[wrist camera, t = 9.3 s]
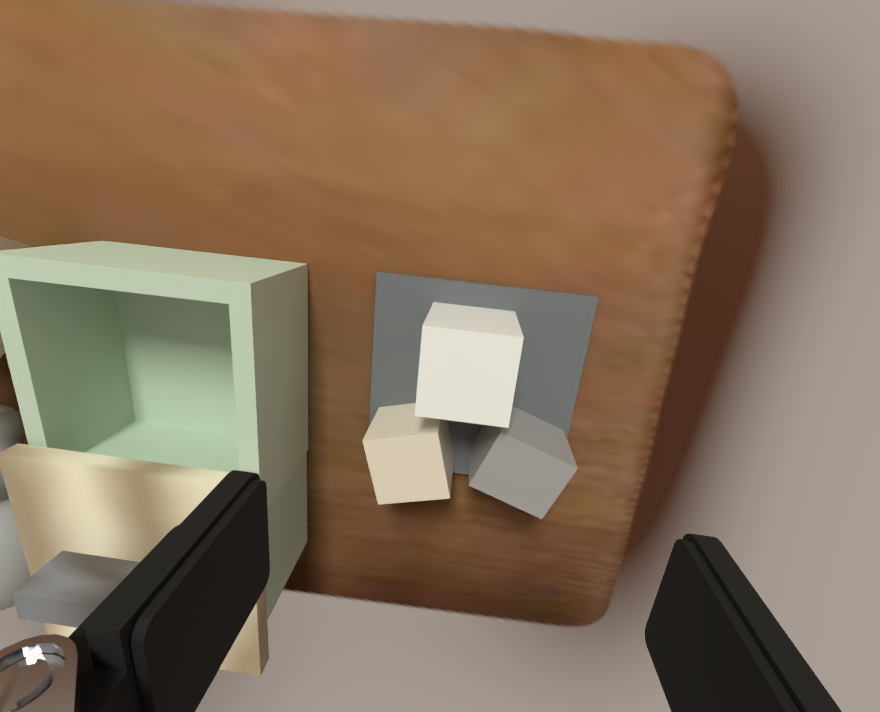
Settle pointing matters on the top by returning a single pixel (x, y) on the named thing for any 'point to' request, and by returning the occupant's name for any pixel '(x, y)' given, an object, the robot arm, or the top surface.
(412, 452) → the beige cube
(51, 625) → the lid
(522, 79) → the top surface
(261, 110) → the top surface
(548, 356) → the mat
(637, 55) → the top surface
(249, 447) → the bin
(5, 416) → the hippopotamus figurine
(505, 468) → the light grey cube
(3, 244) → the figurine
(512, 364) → the white stacked cube
